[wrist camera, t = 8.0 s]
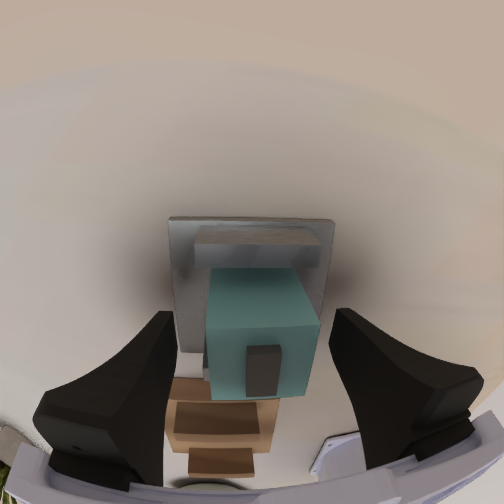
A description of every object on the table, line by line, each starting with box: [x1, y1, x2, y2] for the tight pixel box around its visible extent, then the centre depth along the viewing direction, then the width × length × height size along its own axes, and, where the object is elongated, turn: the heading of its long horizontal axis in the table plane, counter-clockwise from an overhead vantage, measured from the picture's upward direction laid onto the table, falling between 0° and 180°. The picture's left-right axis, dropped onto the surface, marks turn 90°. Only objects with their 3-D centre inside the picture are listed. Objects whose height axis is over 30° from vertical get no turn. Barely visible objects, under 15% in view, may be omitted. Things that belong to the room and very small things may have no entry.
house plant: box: [0, 425, 33, 504], centre depth 15 cm, size 14×14×16 cm
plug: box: [205, 268, 321, 400], centre depth 12 cm, size 4×4×6 cm
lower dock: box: [168, 217, 335, 381], centre depth 14 cm, size 8×8×3 cm
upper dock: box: [165, 378, 280, 478], centre depth 17 cm, size 8×8×4 cm
